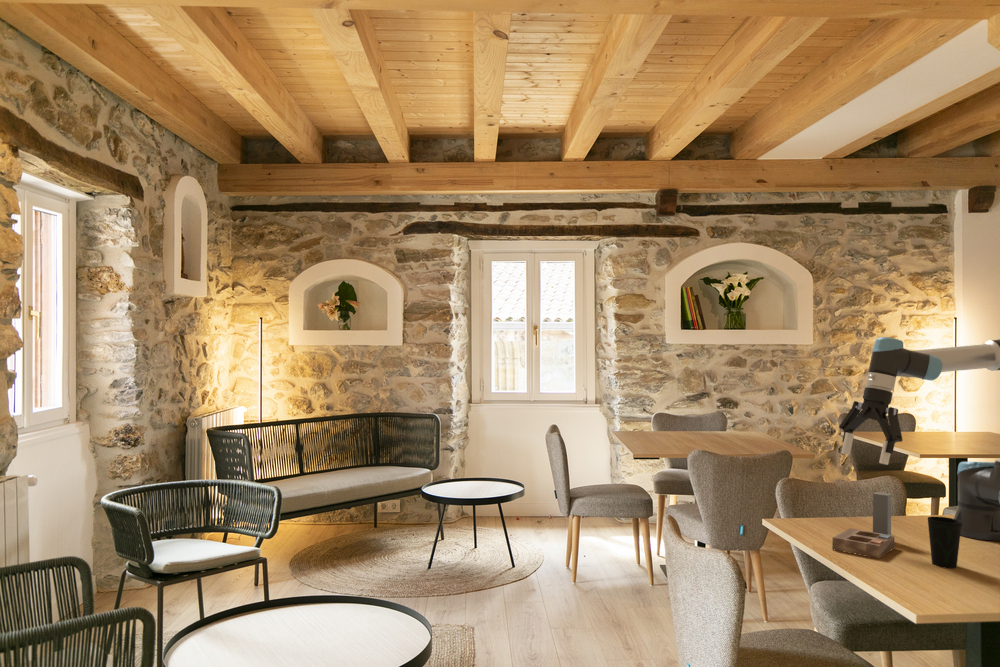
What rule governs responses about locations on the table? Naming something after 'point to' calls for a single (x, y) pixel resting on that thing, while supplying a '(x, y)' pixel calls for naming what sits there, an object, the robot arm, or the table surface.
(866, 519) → the table surface
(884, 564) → the table surface
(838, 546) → the socket block
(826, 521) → the table surface
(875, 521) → the plug
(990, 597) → the table surface
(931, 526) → the cup
